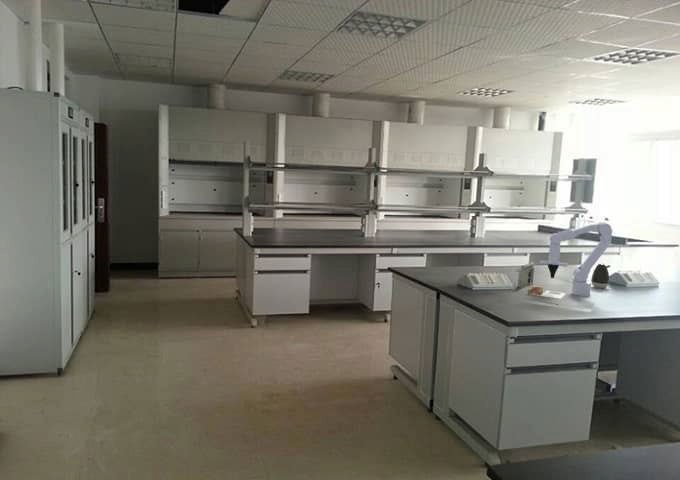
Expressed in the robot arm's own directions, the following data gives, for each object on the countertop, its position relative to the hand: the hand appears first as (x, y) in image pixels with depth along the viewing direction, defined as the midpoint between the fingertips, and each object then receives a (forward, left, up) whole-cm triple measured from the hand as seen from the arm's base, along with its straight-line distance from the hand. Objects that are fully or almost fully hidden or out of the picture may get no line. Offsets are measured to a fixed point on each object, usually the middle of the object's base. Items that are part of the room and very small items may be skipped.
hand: (552, 278), depth 303 cm
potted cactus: (-21, -43, -10) cm, 49 cm away
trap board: (+1, +8, -9) cm, 12 cm away
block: (+5, +12, -8) cm, 15 cm away
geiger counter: (+18, -18, -10) cm, 27 cm away
